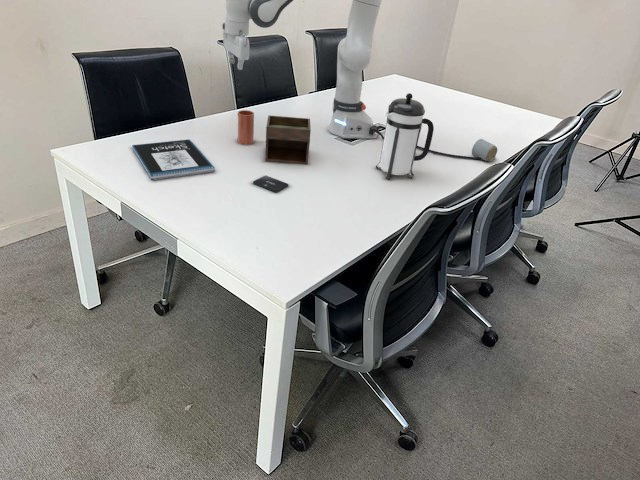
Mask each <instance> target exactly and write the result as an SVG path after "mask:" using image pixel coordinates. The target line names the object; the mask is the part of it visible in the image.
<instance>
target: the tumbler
mask: <svg viewBox="0 0 640 480" xmlns="http://www.w3.org/2000/svg"><path fill="white" fill-rule="evenodd" d="M254 138H255V112H254V111H252V110H247V109H246V110H245V109H242V110H239V111H237V143H238V144H240V145H244V146H249V145H252V144H254V142H255V139H254Z"/></svg>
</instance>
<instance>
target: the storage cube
mask: <svg viewBox="0 0 640 480" xmlns="http://www.w3.org/2000/svg"><path fill="white" fill-rule="evenodd" d="M311 127H312V126H311V118H308V117H307V118H306V117H294V116H293V117H292V116H281V115H269V114H268V115H267V121H266V126H265V154H264V155H265V156H264V158H265V159H264V161H265V163H278V164H279V163H280V164H281V163H282V164H294V165H308V164H309V155H310V142H311V131H312V129H311Z"/></svg>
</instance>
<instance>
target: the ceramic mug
mask: <svg viewBox="0 0 640 480" xmlns="http://www.w3.org/2000/svg"><path fill="white" fill-rule="evenodd" d="M471 155H472V157H479V158H481V159H483V160H482V161H484V162H491V161H493V160H494V159H495V157H496V156H497V155H498V147H497V146H496V145H495V144H493V143H491V142H489V141H487V140H485V139H484V138H479V139H477V140H476V141H475V142H474V144H473V146H472V148H471Z"/></svg>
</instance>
